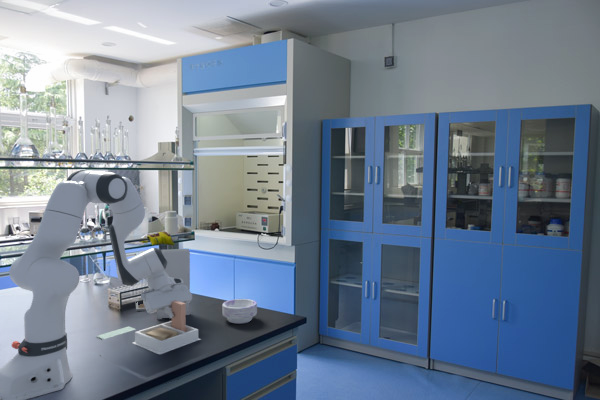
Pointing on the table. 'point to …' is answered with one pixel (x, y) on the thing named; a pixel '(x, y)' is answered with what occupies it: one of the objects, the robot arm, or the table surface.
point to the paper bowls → (239, 310)
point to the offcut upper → (161, 334)
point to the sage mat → (115, 332)
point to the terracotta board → (179, 315)
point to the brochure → (177, 271)
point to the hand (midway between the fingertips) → (177, 316)
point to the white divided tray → (168, 344)
